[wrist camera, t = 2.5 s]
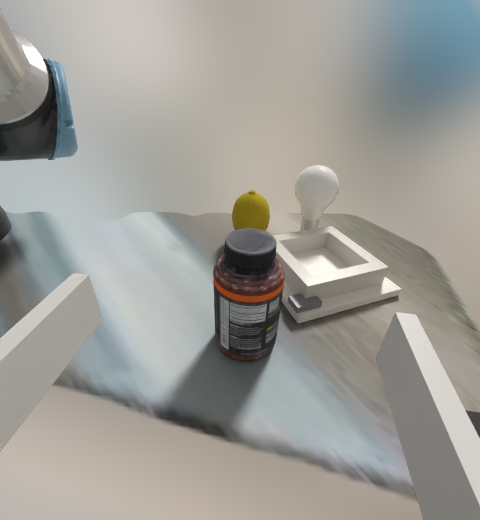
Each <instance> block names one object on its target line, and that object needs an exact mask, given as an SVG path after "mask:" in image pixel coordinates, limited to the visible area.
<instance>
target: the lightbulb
mask: <svg viewBox="0 0 480 520" xmlns="http://www.w3.org/2000/svg"><path fill="white" fill-rule="evenodd" d="M338 190H339V181H338V178H337V176H336V174H335V173H334V172H333V171H332V170H331V169H330V168H328V167H326V166H322V165H314V166H311V167H308V168H306V169H305V170H303V171H302V172H301V173H300V175H299V176H298V178H297V180H296V183H295V194H296V197H297V199H298V201H299V203H300V206H301V214H302V222H301V228H300V230H301V231H305V230H311V229H317V227H318V223H319V219H320V218H321V216H322V215H323V212H324V210H325V209H326V208H327V207H328V206H329V205H330V204H331V203H332V202H333V201H334V199H335V198H336V196H337V194H338Z"/></svg>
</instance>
